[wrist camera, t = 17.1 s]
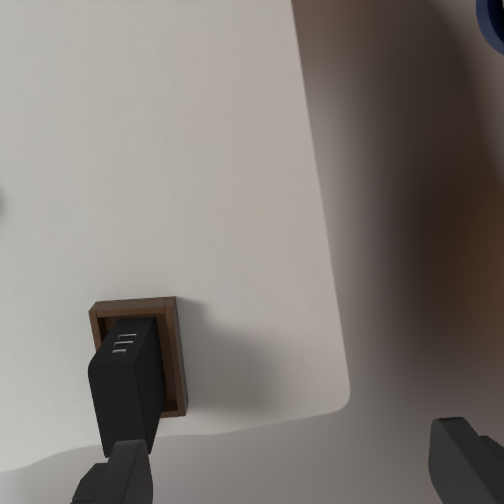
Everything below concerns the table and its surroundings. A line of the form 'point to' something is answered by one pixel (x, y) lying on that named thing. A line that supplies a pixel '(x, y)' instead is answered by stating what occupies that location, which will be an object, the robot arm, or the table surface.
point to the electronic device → (128, 383)
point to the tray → (169, 338)
